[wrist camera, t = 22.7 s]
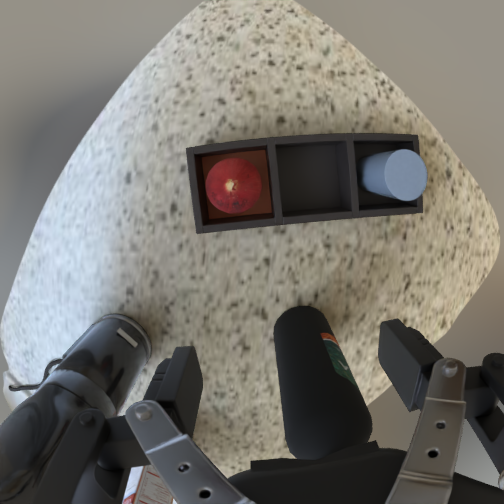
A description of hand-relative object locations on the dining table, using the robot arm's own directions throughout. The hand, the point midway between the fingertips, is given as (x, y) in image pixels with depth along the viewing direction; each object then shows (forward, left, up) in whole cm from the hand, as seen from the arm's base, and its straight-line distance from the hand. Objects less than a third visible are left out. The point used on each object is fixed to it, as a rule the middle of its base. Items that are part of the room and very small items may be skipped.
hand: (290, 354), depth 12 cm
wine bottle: (+4, -13, -26) cm, 29 cm away
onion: (-3, +7, -25) cm, 26 cm away
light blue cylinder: (+14, +7, -25) cm, 29 cm away
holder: (+6, +7, -25) cm, 27 cm away
